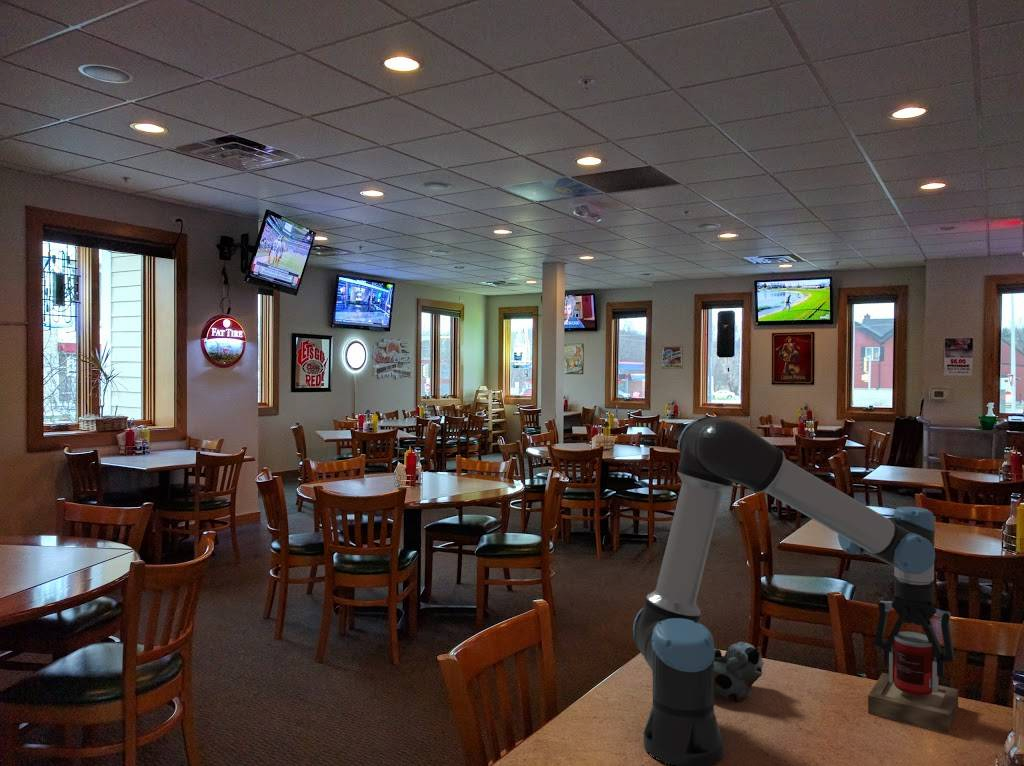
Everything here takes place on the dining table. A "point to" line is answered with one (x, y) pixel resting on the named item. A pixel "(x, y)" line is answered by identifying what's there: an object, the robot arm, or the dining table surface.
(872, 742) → the dining table surface
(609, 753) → the dining table surface
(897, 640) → the canned food
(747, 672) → the lucky cat figurine
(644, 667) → the dining table surface
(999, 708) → the dining table surface
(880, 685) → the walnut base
